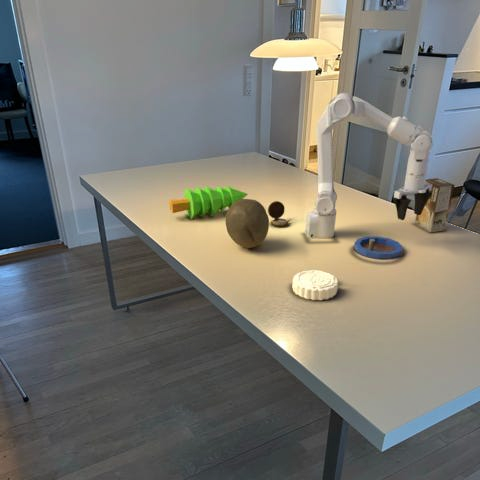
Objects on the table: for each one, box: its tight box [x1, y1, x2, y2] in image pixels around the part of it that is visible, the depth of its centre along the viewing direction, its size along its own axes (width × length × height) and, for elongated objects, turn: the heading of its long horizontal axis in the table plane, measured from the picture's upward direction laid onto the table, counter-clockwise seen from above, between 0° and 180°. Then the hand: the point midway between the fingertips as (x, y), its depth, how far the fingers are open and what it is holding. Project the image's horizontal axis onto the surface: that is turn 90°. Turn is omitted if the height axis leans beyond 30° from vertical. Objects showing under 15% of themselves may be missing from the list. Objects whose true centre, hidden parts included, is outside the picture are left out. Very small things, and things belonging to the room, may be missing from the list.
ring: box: [353, 235, 404, 260], centre depth 152 cm, size 14×14×2 cm
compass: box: [267, 200, 294, 228], centre depth 173 cm, size 8×8×7 cm
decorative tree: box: [168, 185, 249, 220], centre depth 179 cm, size 11×12×30 cm
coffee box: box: [414, 177, 455, 233], centre depth 169 cm, size 9×6×16 cm
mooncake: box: [291, 269, 339, 301], centre depth 130 cm, size 12×12×4 cm
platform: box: [352, 239, 404, 261], centre depth 152 cm, size 15×15×4 cm
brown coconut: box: [225, 198, 270, 249], centre depth 153 cm, size 14×14×15 cm
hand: (409, 216), depth 154 cm, fingers open, 7 cm apart
